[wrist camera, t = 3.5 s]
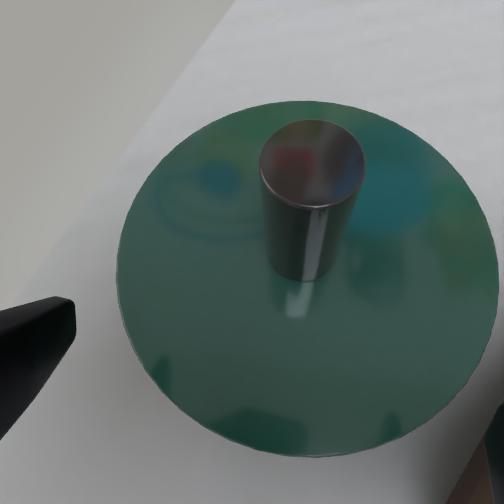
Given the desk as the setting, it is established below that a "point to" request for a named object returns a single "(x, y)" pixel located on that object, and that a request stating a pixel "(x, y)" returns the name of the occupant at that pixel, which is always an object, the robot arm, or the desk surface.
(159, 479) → the desk surface
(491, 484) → the robot arm
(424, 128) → the desk surface
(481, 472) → the lid rest
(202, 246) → the lid
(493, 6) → the desk surface
